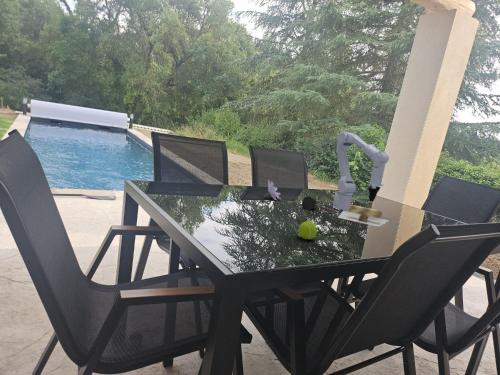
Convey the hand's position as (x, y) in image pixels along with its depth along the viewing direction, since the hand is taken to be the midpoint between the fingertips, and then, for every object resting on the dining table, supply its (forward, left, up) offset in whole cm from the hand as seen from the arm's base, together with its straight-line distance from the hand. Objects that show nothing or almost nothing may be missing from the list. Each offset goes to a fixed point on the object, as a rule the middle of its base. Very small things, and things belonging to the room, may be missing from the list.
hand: (371, 200), depth 203 cm
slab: (-2, -8, -10) cm, 13 cm away
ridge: (-2, -12, -9) cm, 15 cm away
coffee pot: (-25, -9, -10) cm, 29 cm away
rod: (-2, -12, -6) cm, 14 cm away
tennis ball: (-19, -68, -10) cm, 71 cm away
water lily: (-53, -6, -10) cm, 54 cm away
